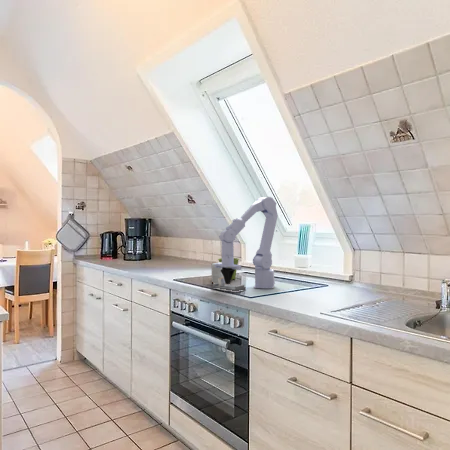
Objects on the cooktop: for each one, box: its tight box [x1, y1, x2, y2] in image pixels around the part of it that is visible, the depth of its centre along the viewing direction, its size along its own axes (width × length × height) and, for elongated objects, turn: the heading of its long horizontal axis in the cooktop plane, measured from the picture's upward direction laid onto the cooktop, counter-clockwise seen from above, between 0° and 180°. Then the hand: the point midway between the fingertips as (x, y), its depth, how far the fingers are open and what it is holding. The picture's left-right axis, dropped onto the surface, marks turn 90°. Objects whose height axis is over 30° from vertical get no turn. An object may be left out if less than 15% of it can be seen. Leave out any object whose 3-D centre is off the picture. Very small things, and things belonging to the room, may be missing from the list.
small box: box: [211, 261, 223, 283], centre depth 216 cm, size 8×6×10 cm
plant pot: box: [217, 257, 240, 281], centre depth 230 cm, size 12×12×11 cm
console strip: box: [211, 283, 247, 291], centre depth 197 cm, size 14×8×3 cm, turn 52°
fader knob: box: [218, 277, 226, 286], centre depth 200 cm, size 2×3×4 cm, turn 142°
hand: (227, 283), depth 197 cm, fingers closed
